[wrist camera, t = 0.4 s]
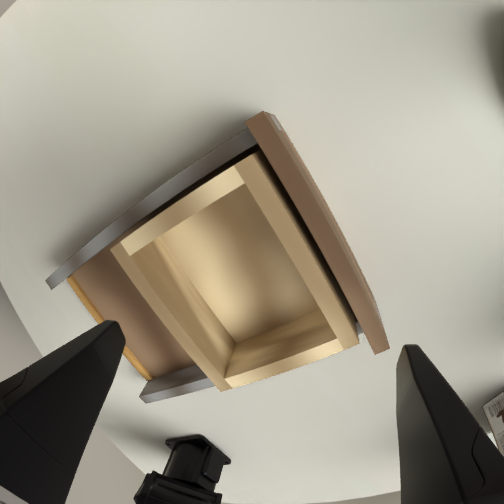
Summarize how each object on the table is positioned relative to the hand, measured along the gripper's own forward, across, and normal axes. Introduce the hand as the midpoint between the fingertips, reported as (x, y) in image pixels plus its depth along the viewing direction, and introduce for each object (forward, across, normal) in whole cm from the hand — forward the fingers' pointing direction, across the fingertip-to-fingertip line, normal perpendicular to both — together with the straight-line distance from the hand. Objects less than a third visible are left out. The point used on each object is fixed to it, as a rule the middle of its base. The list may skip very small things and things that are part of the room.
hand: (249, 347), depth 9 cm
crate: (+12, +3, +5) cm, 13 cm away
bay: (+13, +7, +7) cm, 16 cm away
